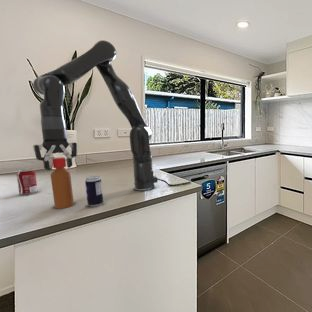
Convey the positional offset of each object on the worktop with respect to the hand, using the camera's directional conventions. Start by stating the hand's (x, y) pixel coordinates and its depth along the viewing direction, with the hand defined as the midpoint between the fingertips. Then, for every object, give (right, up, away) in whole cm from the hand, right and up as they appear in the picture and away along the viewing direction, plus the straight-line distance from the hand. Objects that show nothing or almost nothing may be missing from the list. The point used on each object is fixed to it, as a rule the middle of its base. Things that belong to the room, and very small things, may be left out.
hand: (58, 168), depth 91 cm
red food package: (-30, -14, +19) cm, 38 cm away
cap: (0, +1, 0) cm, 1 cm away
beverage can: (+13, -16, +3) cm, 21 cm away
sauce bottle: (0, -16, +2) cm, 16 cm away
